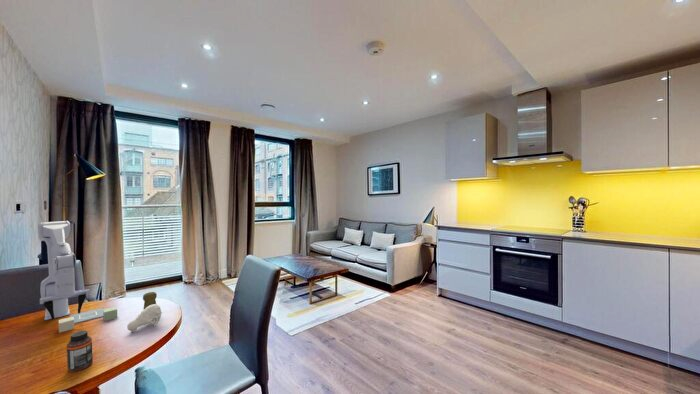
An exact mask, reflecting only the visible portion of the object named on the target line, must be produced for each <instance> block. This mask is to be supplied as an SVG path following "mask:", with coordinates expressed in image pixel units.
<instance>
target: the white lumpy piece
mask: <svg viewBox="0 0 700 394" xmlns="http://www.w3.org/2000/svg"><path fill="white" fill-rule="evenodd" d="M143 309H144V308H143ZM162 313H163V312H162V309H161V306H160V305H158V304H157V303H156V304H153V305H150V306H148V307H146V308H145V309H144V310H142V311H141V312H140V313H139V314H138V315H137V317H136V318H135V319H133V320H131V321H130V322H129V323H128V324H127V330H128V331H130V332H131V333H134V332H137V331H138V329H139V328H140V327H143V326H146V325H153V326H154V327H157V325H158V324H159V323H160V321H161V317H162Z"/></svg>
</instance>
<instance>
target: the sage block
mask: <svg viewBox="0 0 700 394" xmlns="http://www.w3.org/2000/svg"><path fill="white" fill-rule="evenodd" d="M102 318H103V321H104V322H106V321H110V320H114V319H117V318H118V308H117V306H111V307H108V308H104V309H103V317H102Z"/></svg>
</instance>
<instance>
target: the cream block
mask: <svg viewBox="0 0 700 394" xmlns="http://www.w3.org/2000/svg"><path fill="white" fill-rule="evenodd" d="M71 330H75V324H74V317H70V316H69V317H66V318H61V319H58V333H60V334H61V333H63V332H67V331H71Z"/></svg>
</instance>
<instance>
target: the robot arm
mask: <svg viewBox="0 0 700 394" xmlns="http://www.w3.org/2000/svg"><path fill="white" fill-rule="evenodd" d="M37 231H38V239H39V241H42V242H45V244H46V246H47V247H46V249H47V263H48V276H47V277H46V278H44V279H43V280H42V281H41V282H40V288H39V289H40V290H39V291H40V292H39V293H40V298H39V305H43V307H44V308H45V315H44V319H43V320H44V321H48V320H52V321H53V320H55V319H56V318H60V317H65V316H70V315H71V313H70V307H69V299H71V298H75V297H76V298H77V314H79V313H81V312H82V311H81V310H82V307H83V304H84V302H85V301H86V298H87V296H88V295H90V288H88V289H87V288H86V289H80V290H76V280H75V277H76V276H75V275H76V274H75V268H76V265H77V257H76V254H75V253H74V252H72V249H71V244H70V243H68V242H66V238H68V237H69V235H70V232H71V223H70V221H68V220H62V221H60V220H59V221H48V222H47V221H44V222H41V221H40V222H39V223H38V225H37Z"/></svg>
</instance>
